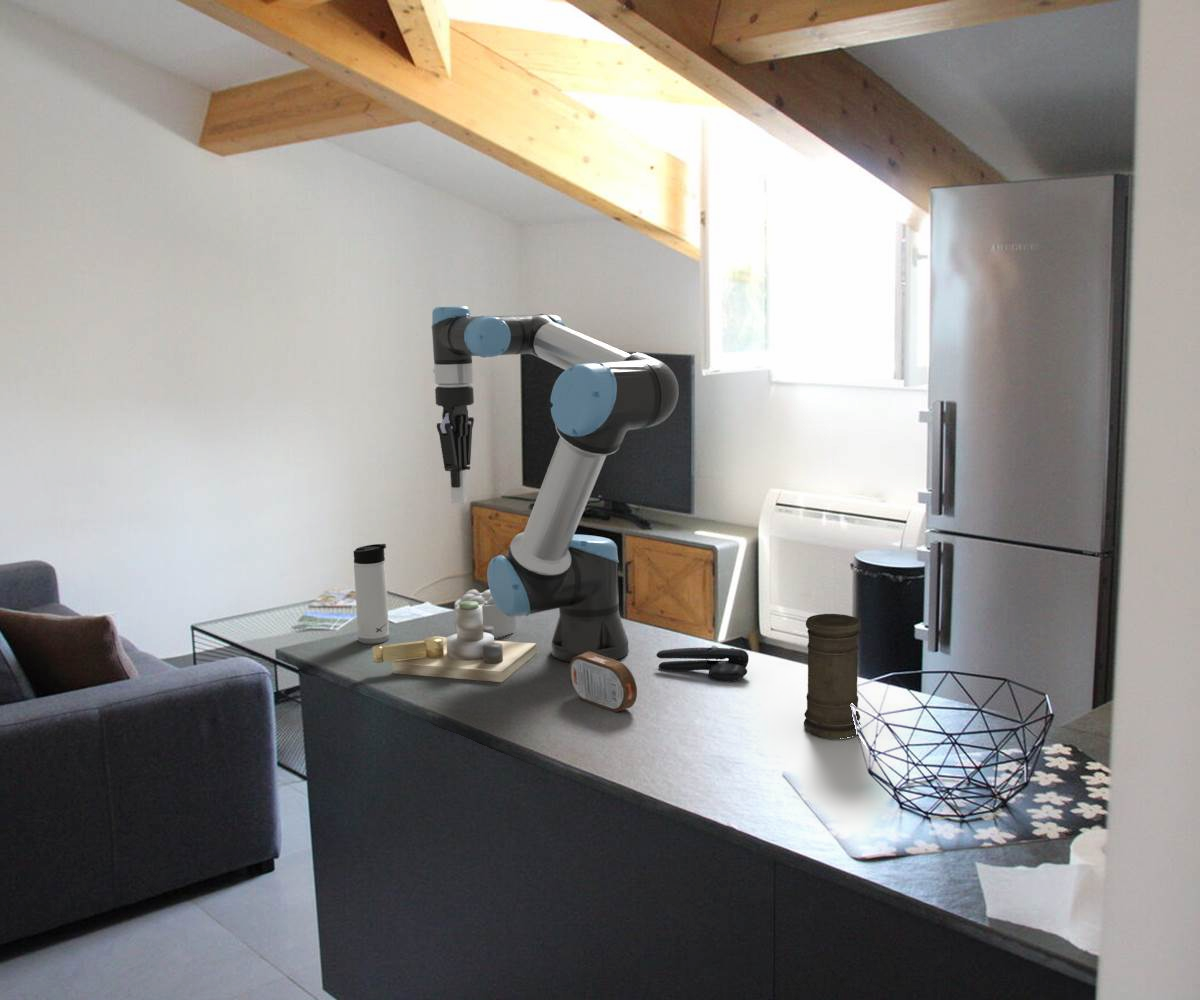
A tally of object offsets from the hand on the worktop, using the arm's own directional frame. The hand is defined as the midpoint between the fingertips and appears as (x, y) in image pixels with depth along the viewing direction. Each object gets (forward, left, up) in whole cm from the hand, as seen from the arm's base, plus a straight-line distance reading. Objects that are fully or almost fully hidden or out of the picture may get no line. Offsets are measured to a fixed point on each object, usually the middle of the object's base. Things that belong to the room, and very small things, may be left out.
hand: (459, 502), depth 234 cm
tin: (-39, +31, -29) cm, 58 cm away
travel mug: (+18, +5, -29) cm, 34 cm away
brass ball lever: (+2, +21, -26) cm, 34 cm away
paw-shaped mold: (-2, -5, -29) cm, 29 cm away
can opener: (-52, +10, -29) cm, 60 cm away
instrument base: (-7, +15, -28) cm, 33 cm away
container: (-78, +33, -29) cm, 90 cm away
